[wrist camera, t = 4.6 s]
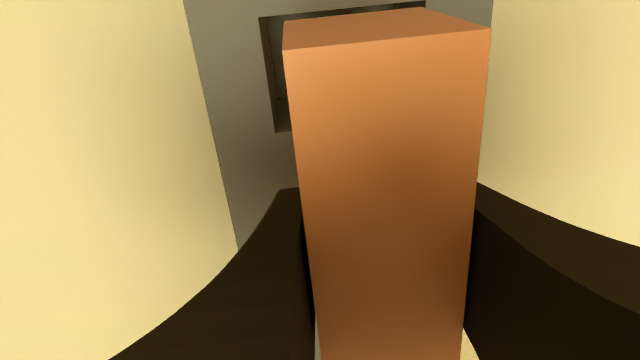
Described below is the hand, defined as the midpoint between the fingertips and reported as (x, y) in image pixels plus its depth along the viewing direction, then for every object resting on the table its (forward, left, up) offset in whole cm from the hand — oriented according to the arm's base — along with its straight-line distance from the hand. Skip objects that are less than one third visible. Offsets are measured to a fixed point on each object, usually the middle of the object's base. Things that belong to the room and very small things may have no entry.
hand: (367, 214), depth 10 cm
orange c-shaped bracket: (0, 0, -4) cm, 4 cm away
